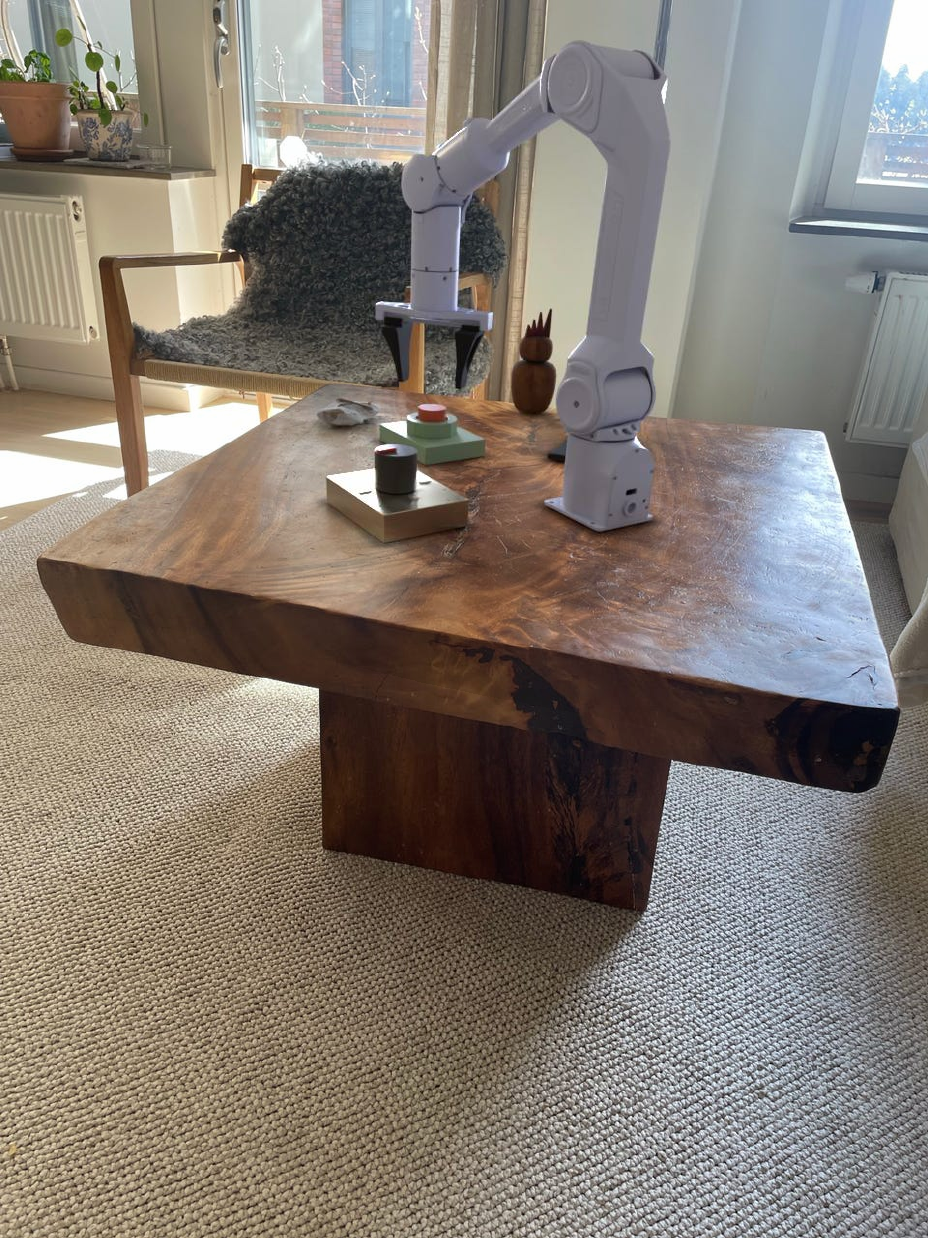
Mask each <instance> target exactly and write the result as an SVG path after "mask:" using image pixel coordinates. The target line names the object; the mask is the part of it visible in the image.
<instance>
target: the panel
mask: <svg viewBox="0 0 928 1238" xmlns="http://www.w3.org/2000/svg"><path fill="white" fill-rule="evenodd" d="M325 490H326V503H327V504H329V506H331V507H333V508H334V509H336V511H338V512H340V513H341V514H343V515H344V516H345V517H346V518H348V519H349V520H350V521H352V522H354V523H355V524H356V525H358V526H359V527H360V528H362V529H363V530H365V532H367V533H369V534H370V535H372V536H373V537H374V538H376V539H377V540H378V541H380V542H382V543H383V544H386V543H391V542H396V541H400V540H407V539H411V538H416V537H422V536H426V535H431V534H435V533H436V534H437V533H441V532H445V531H450V530H455V529H461V528H466V527H468V522H469V502H470V499H468V498H467V497H465V496H464V495H462V494H460V493H458V492H456V491H455V490H453V489H451V488H449V487H447V486H446V485H444V484H442V483H441V482H439V481H437V480H435V479H434V478H432V477H430V476H428V475H426V474H425V473H423V472H421V471H419V470H417V487H416V489H415V490H414V491H412V492H408V493H402V494H391V493H385V492H381V491H379V490H377V489H376V488H375V468H371V469H365V470H359V471H351V472H345V473H339V474H332V475H326V476H325Z"/></svg>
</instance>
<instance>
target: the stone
mask: <svg viewBox="0 0 928 1238" xmlns="http://www.w3.org/2000/svg"><path fill="white" fill-rule="evenodd" d="M380 413H381V409H380V407H379V405H377V404H375V403H373V402H372V400H370V401H356V400H349V399H346V398H341V397H337V398H336V399H335V400H334V401H333V402H331V403H329V404H328V405H327V406H326V407H324V408H323V407H322V408H319V409H318V410H317V411H316V416H317V418H318V419H319V420H321V421H323V422H324V423H325V425H326V426H328V427H335V426H349V427H353V426H354V425H356V424H359V425H363V424H365V422H366V423H367V422H370V420H371V419H372V418H374V417H376V416H377V415H378V414H380Z"/></svg>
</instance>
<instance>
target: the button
mask: <svg viewBox="0 0 928 1238" xmlns="http://www.w3.org/2000/svg"><path fill="white" fill-rule="evenodd" d="M417 412H418V420H420V421H424V422H444V421H446V413H447V406H445V405H443V404H438V403H423V404H420V405H419V406H418V407H417Z"/></svg>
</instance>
